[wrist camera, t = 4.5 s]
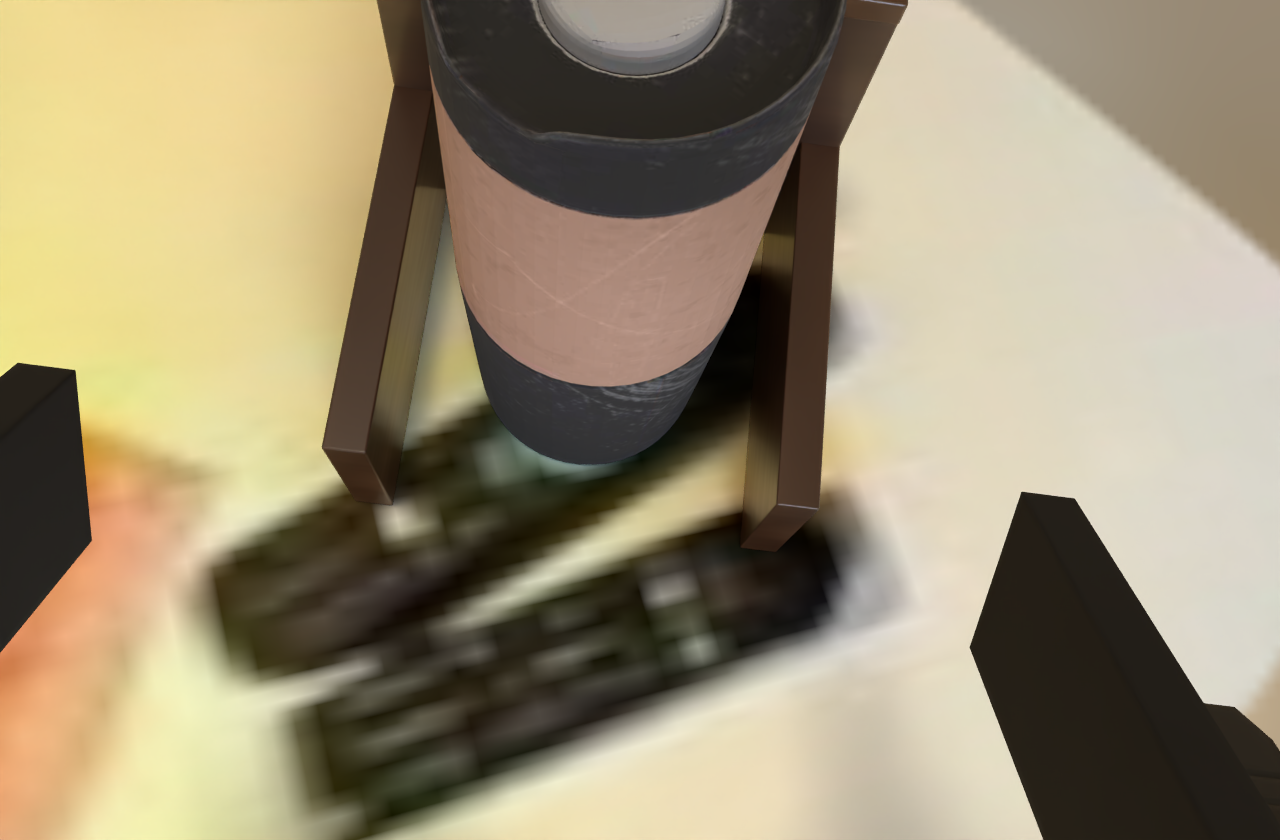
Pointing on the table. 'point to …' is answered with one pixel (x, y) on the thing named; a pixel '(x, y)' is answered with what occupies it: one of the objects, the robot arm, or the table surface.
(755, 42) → the travel mug
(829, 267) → the shelf rack
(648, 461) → the table surface
